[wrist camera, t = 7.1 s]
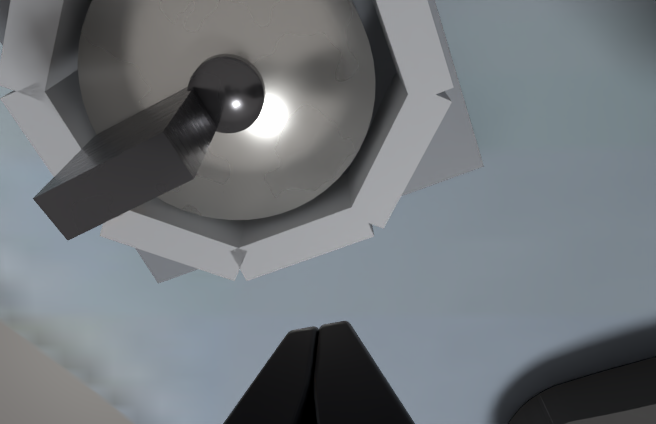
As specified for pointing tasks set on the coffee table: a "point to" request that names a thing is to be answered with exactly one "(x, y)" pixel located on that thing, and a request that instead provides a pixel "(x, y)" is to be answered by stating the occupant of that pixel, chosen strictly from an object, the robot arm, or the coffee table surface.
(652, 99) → the coffee table surface
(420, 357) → the coffee table surface
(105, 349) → the coffee table surface
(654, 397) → the media streaming box
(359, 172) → the dial panel
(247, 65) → the dial
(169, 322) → the coffee table surface
